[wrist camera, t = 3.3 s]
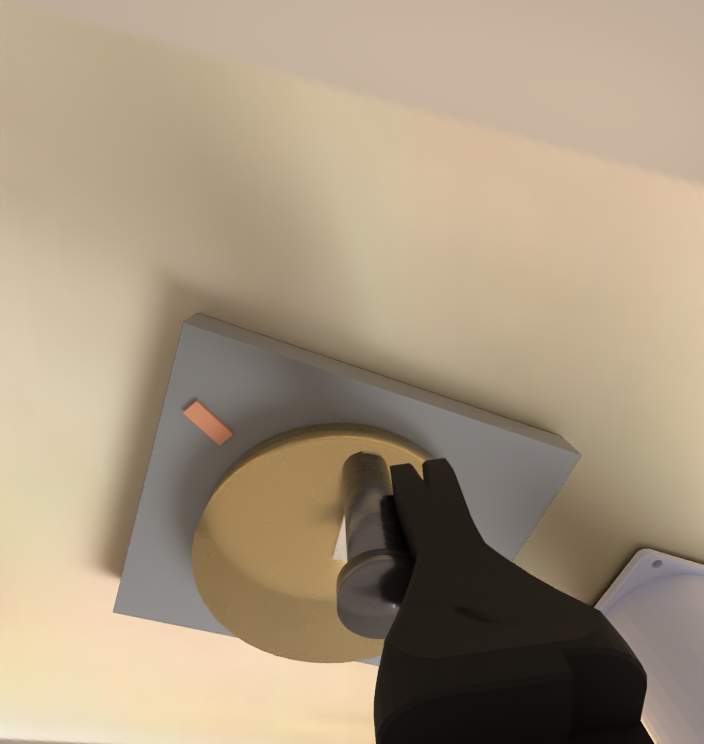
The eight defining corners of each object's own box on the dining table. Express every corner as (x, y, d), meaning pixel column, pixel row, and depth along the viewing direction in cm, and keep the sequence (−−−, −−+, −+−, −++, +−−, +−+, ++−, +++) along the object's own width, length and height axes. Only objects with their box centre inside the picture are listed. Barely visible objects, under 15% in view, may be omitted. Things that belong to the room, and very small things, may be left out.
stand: (561, 436, 18) (583, 457, 16) (429, 648, 22) (436, 680, 21) (196, 312, 15) (181, 323, 13) (128, 583, 19) (111, 615, 18)
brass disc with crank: (422, 642, 20) (466, 843, 13) (190, 615, 18) (117, 827, 12) (502, 447, 16) (618, 599, 10) (220, 395, 15) (137, 533, 8)
